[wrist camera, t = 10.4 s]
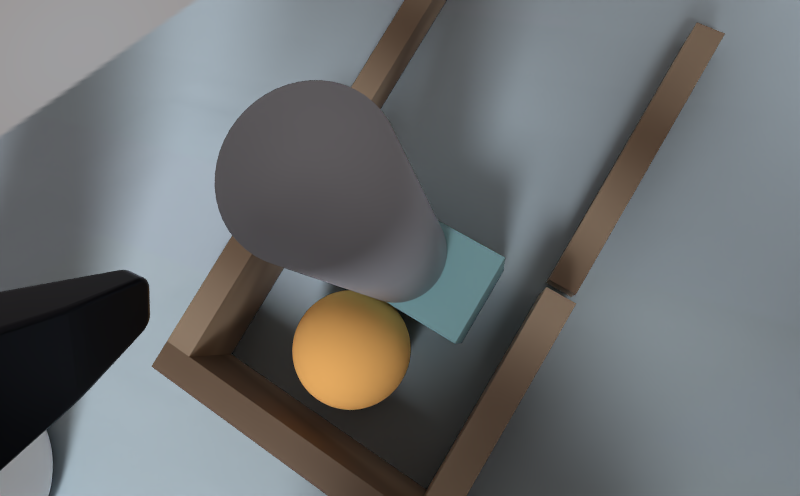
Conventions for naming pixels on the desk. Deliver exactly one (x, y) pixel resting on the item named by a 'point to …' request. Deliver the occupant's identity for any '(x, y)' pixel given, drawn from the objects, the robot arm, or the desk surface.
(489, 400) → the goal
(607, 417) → the desk surface
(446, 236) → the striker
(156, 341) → the desk surface
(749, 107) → the desk surface
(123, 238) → the desk surface
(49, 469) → the water bottle
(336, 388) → the ball
